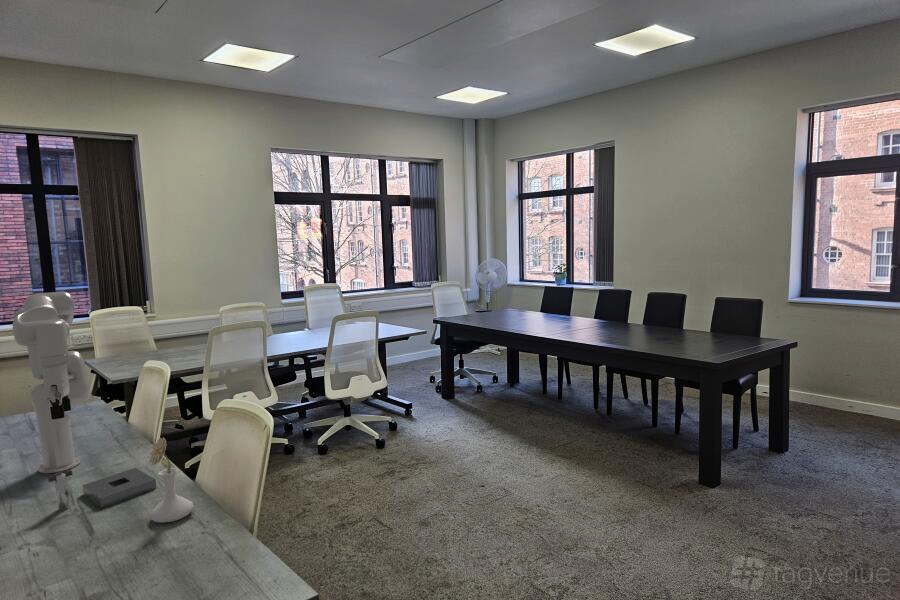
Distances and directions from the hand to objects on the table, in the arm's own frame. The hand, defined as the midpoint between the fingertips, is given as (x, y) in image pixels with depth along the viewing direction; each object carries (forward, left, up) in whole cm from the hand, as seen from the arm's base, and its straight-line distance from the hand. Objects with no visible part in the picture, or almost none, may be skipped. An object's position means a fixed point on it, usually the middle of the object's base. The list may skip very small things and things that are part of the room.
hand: (61, 414), depth 171 cm
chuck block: (+7, +11, -28) cm, 31 cm away
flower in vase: (+40, +13, -28) cm, 51 cm away
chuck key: (+5, -4, -28) cm, 28 cm away
